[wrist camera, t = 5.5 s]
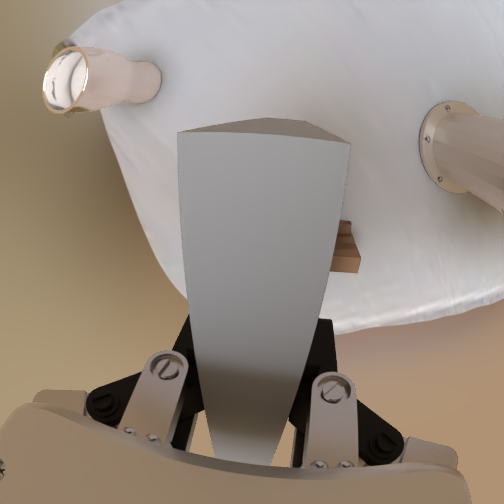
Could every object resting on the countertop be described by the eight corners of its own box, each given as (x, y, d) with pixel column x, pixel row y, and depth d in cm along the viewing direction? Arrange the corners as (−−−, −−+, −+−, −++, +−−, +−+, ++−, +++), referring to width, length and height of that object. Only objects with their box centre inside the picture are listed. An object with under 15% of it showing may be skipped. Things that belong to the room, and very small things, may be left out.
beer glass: (169, 59, 27) (97, 39, 14) (159, 108, 31) (84, 116, 18) (125, 59, 27) (47, 50, 14) (117, 105, 31) (37, 116, 18)
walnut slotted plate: (352, 221, 34) (363, 246, 28) (346, 255, 37) (355, 283, 31) (216, 212, 37) (200, 234, 31) (218, 245, 39) (204, 272, 33)
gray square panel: (304, 121, 16) (351, 143, 3) (284, 303, 22) (266, 474, 10) (266, 117, 16) (177, 132, 4) (255, 300, 23) (217, 467, 10)
